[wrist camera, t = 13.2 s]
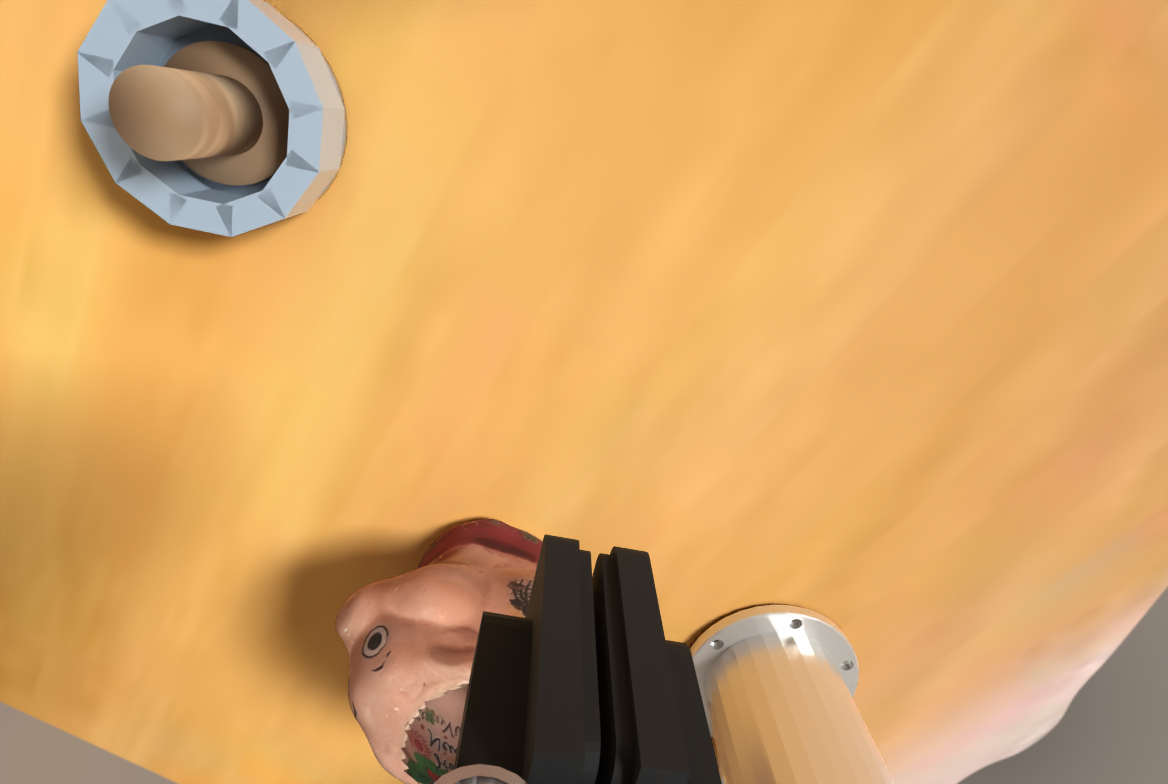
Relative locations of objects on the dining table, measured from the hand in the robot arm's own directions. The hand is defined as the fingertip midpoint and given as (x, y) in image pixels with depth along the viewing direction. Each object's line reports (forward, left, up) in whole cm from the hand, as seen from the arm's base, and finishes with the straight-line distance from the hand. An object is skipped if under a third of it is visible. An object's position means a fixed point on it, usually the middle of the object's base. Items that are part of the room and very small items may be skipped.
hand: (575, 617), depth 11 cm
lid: (+4, +18, -28) cm, 34 cm away
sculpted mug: (-22, -1, -29) cm, 37 cm away
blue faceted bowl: (+4, +18, -29) cm, 34 cm away
